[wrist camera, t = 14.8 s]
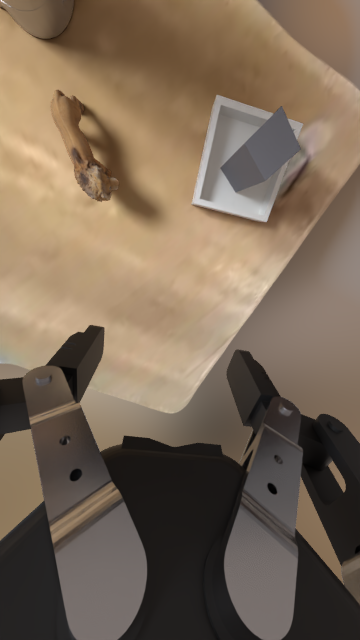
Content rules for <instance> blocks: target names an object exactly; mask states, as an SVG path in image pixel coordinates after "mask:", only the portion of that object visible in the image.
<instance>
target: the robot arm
mask: <svg viewBox="0 0 360 640" xmlns="http://www.w3.org/2000/svg"><path fill="white" fill-rule="evenodd" d="M0 7H2V8H4V9H6V10H7V11H8V13H9V14H10V15H11V16H12V18H13V19H14V20H15V21H16V23H17V24H18V25H20V26H21V27H22V28H23V29H24V30H25V31H27V32H28V33H30V34H31V35H33V36H36V37H39V38H44V39H50V38H53V37H56V36H58V35H59V34H60V33H62V32H63V31H64V29H65V28H66V27H67V25H68V23H69V21H70V18H71V16H72V11H73V7H74V0H0ZM103 347H104V327H100V326H94V325H90V326H89V327H88V328H87V329H86V331H85V332H84V333H82V332H77V333H75V334H74V335H72V336H70V337H69V338H68V340H67V341H66V342H65V343H64V344H63V345H62V347H61V348H60V349H59V350H58V351H57V353H56V354H55V355H54V356H53V357H52V358H51V360H50V361H49V362H48V363H47V364H46V365H45V366H41V367H37V368H35V369H33V370H31V371H29V372H28V373H27V374H26V375H25V376H24V377H22V378H13V379H2V380H0V440H1V439H2V437H3V436H4V434H6V433H11V432H16V431H22V430H27V429H31V432H32V437H33V442H34V448H35V454H36V459H37V464H38V470H39V475H40V480H41V485H42V491H43V497H44V501H43V502H42V503H41V504H40V505H39V506H38V507H37V508H36V509H35V510H33V511H32V512H31V513H30V514H29V515H28V516H27V517H26V518H25V519H24V520H23V521H21V522H20V523H19V524H18V525H17V526H16V527H15V528H14V529H13V530H12V531H11V532H9V533H8V534H7V535H6V536H5V537H4V538H3V539H2V540H1V541H0V640H360V443H359V442H358V441H357V440H356V438H355V437H354V436H353V435H352V433H351V432H350V431H349V429H348V428H347V427H346V426H345V425H344V424H343V423H342V422H340V421H339V420H338V419H336V418H334V417H332V416H330V415H327V414H320V415H319V416H318V417H317V419H316V420H315V419H312V418H310V417H307V416H304V415H302V414H301V413H300V411H299V409H298V408H297V407H296V406H295V405H294V404H293V403H292V402H291V401H289V400H287V399H285V398H283V397H281V396H280V395H279V393H278V391H277V390H276V388H275V387H274V385H273V383H272V381H271V380H270V379H269V377H268V375H267V374H266V372H265V370H264V368H263V367H262V366H261V365H260V364H259V363H258V362H257V361H256V360H254V359H253V357H252V355H251V354H250V352H249V351H244V350H236V351H235V352H234V355H233V357H232V359H231V361H230V364H229V366H228V369H227V379H228V382H229V385H230V388H231V391H232V394H233V397H234V399H235V402H236V406H237V408H238V411H239V414H240V417H241V420H242V423H243V425H244V426H250V427H252V428H253V431H252V433H251V435H250V437H249V440H248V442H247V445H246V448H245V450H244V452H243V455H242V457H241V460H240V462H239V464H238V463H237V462H236V461H235V460H233V459H232V458H230V457H228V456H226V455H223V454H222V449H221V445H214V444H204V443H196V444H190V445H184V446H180V447H171V446H169V445H166V444H163V443H161V442H158V441H155V440H152V439H150V438H142V437H132V436H124V438H123V443H122V444H120V445H116V446H112V447H109V448H107V449H105V450H103V451H101V452H100V451H99V448H98V446H97V443H96V441H95V439H94V436H93V434H92V431H91V429H90V427H89V424H88V422H87V419H86V417H85V415H84V412H83V410H82V407H81V405H80V401H81V399H82V397H83V395H84V393H85V391H86V389H87V387H88V385H89V382H90V380H91V378H92V376H93V374H94V372H95V370H96V368H97V366H98V364H99V362H100V360H101V358H102V354H103ZM332 461H333V462H334V463H335V465H336V466H337V468H338V470H339V471H340V473H341V475H342V476H343V478H344V480H345V484H346V490H345V492H344V493H343V491H342V489H341V488H340V486H339V484H338V482H337V481H336V479H335V478H334V475H333V474H332V472H331V471H330V469H329V467H328V465H329V464H330V463H331V462H332ZM300 477H301V478H302V480H303V482H304V484H305V486H306V489H307V491H308V493H309V496H310V498H311V499H312V502H313V504H314V507H315V509H316V511H317V513H318V515H319V518H320V520H321V522H322V524H323V527H324V529H325V530H326V533H327V535H328V538H329V540H330V542H331V544H332V546H333V549H334V551H335V553H336V555H337V558H338V560H339V562H340V564H341V566H342V570H341V572H342V578H343V582H344V585H343V584H342V582H341V581H340V580H339V579H338V578H337V576H336V575H335V574H334V573H333V572H332V571H331V570H330V568H329V567H328V566H327V565H326V564H325V562H324V561H323V560H322V559H321V558H320V557H319V555H318V554H317V553H316V552H315V551H314V550H313V548H312V547H311V546H310V545H309V544H308V542H307V541H306V540H305V539H304V538H303V537H302V535H301V534H300V533H299V532H298V531H297V530H296V528H295V526H296V517H297V506H298V497H299V487H300Z"/></svg>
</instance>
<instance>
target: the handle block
mask: <svg viewBox="0 0 360 640" xmlns="http://www.w3.org/2000/svg"><path fill="white" fill-rule="evenodd" d="M300 149H301V148H300V146H299V143H298V141H297V139H296V137H295V134H294V132H293V130H292V128H291V125H290V123H289V121H288V119H287V116H286V114H285V112H284V110H283V108H282V106H281V107H280V108H279V109H278V110H277V111H276V112H275V113H274V114H273V115H272V116H271V117H270V118H269V119H268V120H267V121H266V122H265V123H264V124H263V125H262V126H261V127H260V128H259V129H258V130H257V131H256V132H255V133H254V134H253V135H252V136H251V137H250V138H249V139H248V140H247V141H246V142H245V143H244V144H243V145H242V146H241V147H240V148H239V149H238V150H237V151H236V152H235V153H234V154H233V155H232V156H231V157H230V158H229V159H228V160H227V161H226V162H225V163H224V164H223V165H222V166H221V167H220V169H221V170H222V172H223V173H224V175H225V177H226V178H227V180H228V181H229V183H230V185H231V186H232V188H233V189H234V191H235V193H236V192H238V191H241V190H244V189H246V188H249V187H251V186H254V185H257V184H259V183H262V182H265V181H266V180H267V179H268V178H269V177H271V176H272V175H273V174H274V173H275V172H276V171H277V170H278V169H279V168H280V167H282V166H283V165H284V164H285V163H286V162H287V161H288V160H289V159H290V158H292V157H293V156H294V155H295V154H296V153H297V152H298V151H299V150H300Z"/></svg>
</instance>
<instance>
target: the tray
mask: <svg viewBox="0 0 360 640" xmlns="http://www.w3.org/2000/svg"><path fill="white" fill-rule="evenodd" d="M272 115H273V113H270V112H267V111H264V110H262V109H259V108H256V107H253V106H250V105H247V104H244V103H241V102H238V101H235V100H232V99H229V98H226V97H223V96H220V95H217V96H216V98H215V101H214V104H213V107H212V110H211V115H210V120H209V125H208V129H207V134H206V139H205V143H204V148H203V153H202V158H201V162H200V167H199V172H198V176H197V181H196V186H195V191H194V195H193V200H192V205H195V206H199V207H203V208H207V209H211V210H215V211H219V212H223V213H227V214H230V215H234V216H238V217H242V218H246V219H250V220H254V221H258V222H267V220H268V217H269V214H270V212H271V209H272V206H273V204H274V201H275V198H276V196H277V193H278V190H279V187H280V185H281V182H282V179H283V177H284V174H285V171H286V169H287V166H288V163H289V161H290V159H289V160H288V161H287V162H286V163H285V164H284V165H283V166H282V167H280V168H279V169H278V170H277V171H276V172H275V173H274V174H273V175H272V176H271V177H269V178H268V179H267V180H266V181H265V182H262V183H259V184H257V185H254V186H251V187H249V188H246V189H244V190H241V191H238V192H236V193H235V191H234V189H233V188H232V186H231V185H230V183H229V181H228V180H227V178H226V177H225V175H224V173H223V172H222V170H221V169H220V167H221V166H222V165H223V164H224V163H225V162H226V161H227V160H228V159H229V158H230V157H231V156H232V155H233V154H234V153H235V152H236V151H237V150H238V149H239V148H240V147H241V146H242V145H243V144H244V143H245V142H246V141H247V140H248V139H249V138H250V137H251V136H252V135H253V134H254V133H255V132H256V131H257V130H258V129H259V128H260V127H261V126H262V125H263V124H264V123H265V122H266V121H267V120H268V119H269V118H270V117H271V116H272ZM287 119H288V118H287ZM288 121H289V123H290V125H291V128H292V130H293V132H294V134H295V137H296V139H298V136H299V134H300V131H301V128H302V126H303V123H300V122H297V121H294V120H291V119H288Z"/></svg>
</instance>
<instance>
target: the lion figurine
mask: <svg viewBox="0 0 360 640" xmlns="http://www.w3.org/2000/svg"><path fill="white" fill-rule="evenodd" d="M51 112H52V117H53V120H54V122H55V124H56V126H57V127H58V129H59V131H60V133H61V136H62V138H63V141H64V144H65V146H66V149H67V152H68V154H69V156H70V158H71V161H72V163H73V164H74V168H75V169H74V172H75V178H76V180H77V183H78V184H80V187H81V188H82V190H83V191H85V192H86V193H87V194H88V196H90V197H91V198H92V199H95V200H97V201H108V200H110V198H111V191H112V190H117V189H118V186H119V181H118V180H117V179H116V178H109V177H110V176H111V171H110V170H109V169H107V168H106V167H104V166H103V165H102V164H101V163H100V162H98V161H97V160H96V159H95V158H94V157H93V154H92V151H91V149H90V146H89V144H88V142H87V141H86V138H85V137H84V135H83V133H82V132H81V130H80V129H79V126H78V124H79V121H80V120H81V114H83V112H84V106H83V105H82V103H81V102H80V101H79V100H78V99H77V98H76V97H75V96H71V99H70V98H68V97H66V96H65V95H64V94H63V93H62V92H61V91H59V90H56V91H55V92H54V95H53V100H52V101H51Z"/></svg>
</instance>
